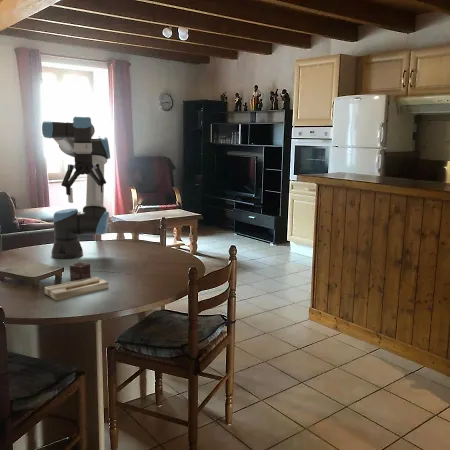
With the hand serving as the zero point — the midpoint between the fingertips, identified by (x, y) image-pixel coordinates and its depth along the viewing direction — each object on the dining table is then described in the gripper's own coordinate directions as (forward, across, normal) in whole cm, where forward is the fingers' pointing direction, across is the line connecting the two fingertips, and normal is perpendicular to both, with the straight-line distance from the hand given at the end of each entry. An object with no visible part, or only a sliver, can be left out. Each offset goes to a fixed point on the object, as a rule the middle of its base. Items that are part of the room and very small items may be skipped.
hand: (85, 201), depth 211 cm
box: (+32, -10, -13) cm, 36 cm away
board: (+32, -17, -23) cm, 43 cm away
